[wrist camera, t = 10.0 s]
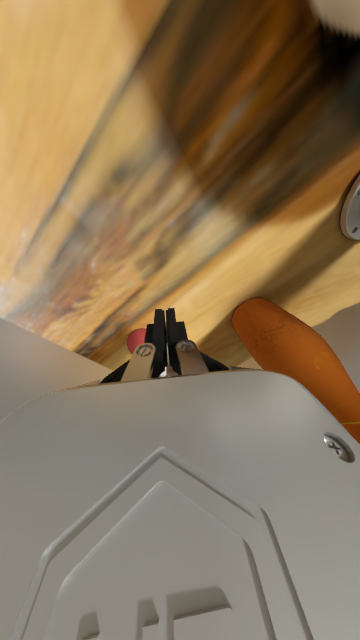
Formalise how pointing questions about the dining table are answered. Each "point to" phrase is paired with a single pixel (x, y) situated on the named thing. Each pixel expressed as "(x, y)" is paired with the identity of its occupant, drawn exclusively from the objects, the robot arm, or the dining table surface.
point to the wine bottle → (298, 357)
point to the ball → (136, 339)
